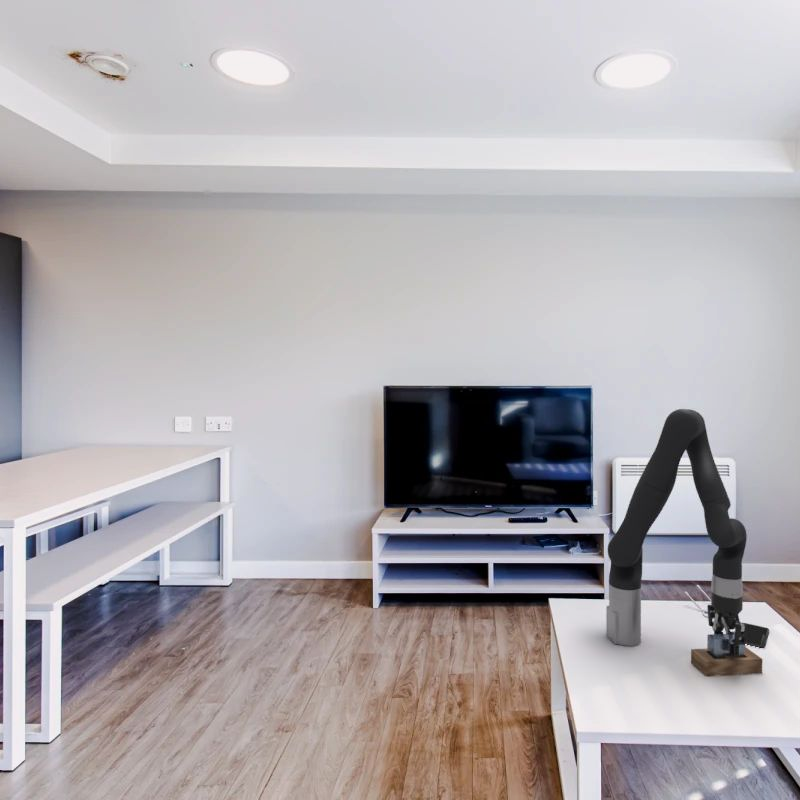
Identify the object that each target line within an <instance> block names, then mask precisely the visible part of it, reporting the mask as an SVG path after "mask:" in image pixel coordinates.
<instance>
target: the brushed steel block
mask: <svg viewBox="0 0 800 800" xmlns="http://www.w3.org/2000/svg"><path fill="white" fill-rule="evenodd" d="M732 636H733V639H734V637H735V635H734V634H733V635H732ZM706 639H707V648H706V649H709V655H710V656H711V657H713V658H714V659H723V653H729V643H730V641H729V637H728V635H727V634H726V633H723V634H714V633H712V634H707V637H706ZM740 640H741V637H740ZM745 647H746V645H739V656H738V657H735V658H744V652H745Z"/></svg>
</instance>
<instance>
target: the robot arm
mask: <svg viewBox="0 0 800 800" xmlns="http://www.w3.org/2000/svg"><path fill="white" fill-rule="evenodd" d="M685 452H686V453H687V456H688V459H689V463H690V467H691V472H692V478H693V483H694V486H695V490H696V493H697V494H698V495H697V496H698V498H699V501H700V502H701V505H702V509H703V515H704V523H705V529H706V532H707V535H708V537H709V538H710V540H711V541H712V543H713V544H714V545H715V546H716V547H718V549H717V551H716V553H715V554H714V555H713V558H712V575H711V581H710V583H711V585H710V586H711V588H710V589H711V594H710V595H711V598H710V599H711V601H710V602H711V603H710V604H707V607H706V609H708V613H707V616H708V617H707V621H708V626H709V627H712V631H713V634H724V632H723V631H725V634H727V635H728V637H729V641H730V643H729V655H730V656H731V657H738V656H739V645H745V644H746V635H747V624H748V623H747V624H742V623H743V622H741V620H740V616H739V614H740V613H741V612H742V611H743V608H744V607H743V602H744V601H743V600H744V599H743V598H744V597H743V595H744V593H743V591H744V589H743V588H744V586H743V585H744V584H743V576H742V575H743V563H742V562H743V558H744V554H745V550H746V545H747V538H748V537H747V531H746V530H747V529H746V528H745V525H744V524H743V523H742V522H741V521H740V520H738V519H736V518H730V515H729V510H730V508H731V505H732V504H731V500H730V498H729V495H728V493H727V490H726V487H725V485H724V482H723V480H722V477H721V475H720V473H719V470H718V467H717V465H716V462H715V458H714V456H713V454H712V449H711V445H710V442H709V437H708V431H707V427H706V422H705V419H704V416H703V415H701V414H700V413H699V412H698V411H697V410H694V409H690V408H689V409H687V408H679V409H675V410H673V411H672V412H671V413H669V414H668V416H667V417H666V419H665V420H664V424H663V426H662V429H661V433H660V436H659V439H658V442H657V444H656V447H655V449H654V450H653V453H652V455H651V457H650V459H648V462H647V464H646V466H645V468H644V470H643V472H642V474H641V475H640V478H639V479H638V482H637V483H636V485H635V488H634V490H633V492H632V496H631V498H630V501H629V504H628V507H627V509H626V512H625V516H624V519H623V520H622V522H621V524H620V526H619V528H618V529H617V531H616V532H615V534H614V535H613V537H612V538H611V539H610V541H609V543H608V545H607V555H608V557H609V560H610V568H609V573H608V574H609V575H608V605H606V614H605V616H606V617H605V618H606V620H605V621H606V622H605V623H606V625H605V627H606V631H605V633H606V637H607V638H608V639H609V640H610V642H612V643H613V644H614V645H620V646H625V647H626V646H627V647H628V646H629V647H634V646H635V647H636V646H638V645H640V644H641V641H642V579H643V556H644V555H643V551H644V549H643V545H644V541H645V540H646V537H647V534H648V533H649V530H650V529H651V527H652V526H653V524H654V523H655V521H656V520H657V518H659V515H660V514H661V513H662V510H663V509H664V508H665V505H666V503H667V502H668V500H669V498H670V496H671V493H672V492H673V489H674V486H675V484H676V481H677V476H678V470H679V467H680V466H679V464H680V462H681V459H682V458H683V455H684V453H685ZM731 630H734V631H731ZM733 634H734V635H735V637H734V639H733V636H732V635H733ZM740 637H741V640H740ZM745 646H746V645H745Z"/></svg>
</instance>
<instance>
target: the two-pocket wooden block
mask: <svg viewBox="0 0 800 800" xmlns="http://www.w3.org/2000/svg"><path fill="white" fill-rule="evenodd" d="M690 664H691V665H693V666H694V667H695V668H696V669H697V670H698V671H699V672H701V674H703V675H704V676H705V677H715V676H716V675H721V676H736V675H735V674H739V675H749V674H748V673H751V674H750V675H753V674H752V673H757V674H763V658H762V657H760V656H759V655H758V654H756V653H755V652H753V651H752V650H751V649H749V648H748V647H746V646H745V652H744V658H735V657H731V656H730V655H729V653H723V659H714V658H713V657H711V656H710V655H709V649H707V648H694V649H693V648H691V649H690Z"/></svg>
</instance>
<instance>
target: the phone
mask: <svg viewBox="0 0 800 800" xmlns="http://www.w3.org/2000/svg"><path fill="white" fill-rule="evenodd" d="M741 623H742V624H747V635H746V644H747V645H746V646H748V645H750V646H749V647H752V646H755V647H754V648H756V647H759V648H758V649H760V648H764V647H766V644H767V642H768V641H767V640H768V637H769V634H770V629H769V628H767V627H764V626H761V625H760V626H759V625H756V624H751V623H747V622H741ZM764 649H765V648H764Z"/></svg>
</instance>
